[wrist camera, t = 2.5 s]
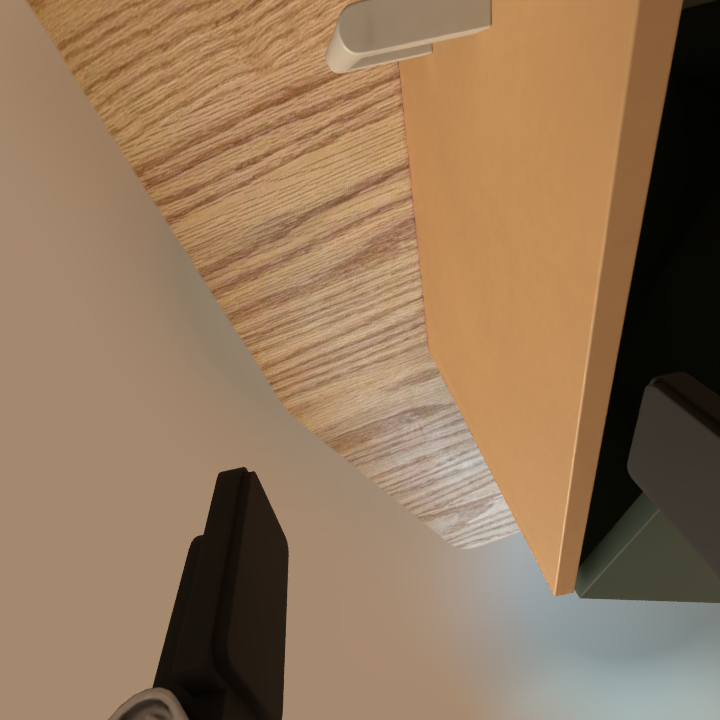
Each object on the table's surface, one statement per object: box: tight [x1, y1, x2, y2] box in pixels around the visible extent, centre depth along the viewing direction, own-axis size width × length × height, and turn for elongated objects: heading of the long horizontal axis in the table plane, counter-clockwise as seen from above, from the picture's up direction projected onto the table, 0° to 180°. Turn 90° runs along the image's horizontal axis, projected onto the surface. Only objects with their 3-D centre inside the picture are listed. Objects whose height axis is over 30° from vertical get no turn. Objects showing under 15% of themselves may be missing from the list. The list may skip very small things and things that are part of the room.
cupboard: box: [575, 0, 720, 603], centre depth 26 cm, size 18×26×24 cm
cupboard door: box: [326, 0, 683, 596], centre depth 23 cm, size 6×26×24 cm, turn 10°
